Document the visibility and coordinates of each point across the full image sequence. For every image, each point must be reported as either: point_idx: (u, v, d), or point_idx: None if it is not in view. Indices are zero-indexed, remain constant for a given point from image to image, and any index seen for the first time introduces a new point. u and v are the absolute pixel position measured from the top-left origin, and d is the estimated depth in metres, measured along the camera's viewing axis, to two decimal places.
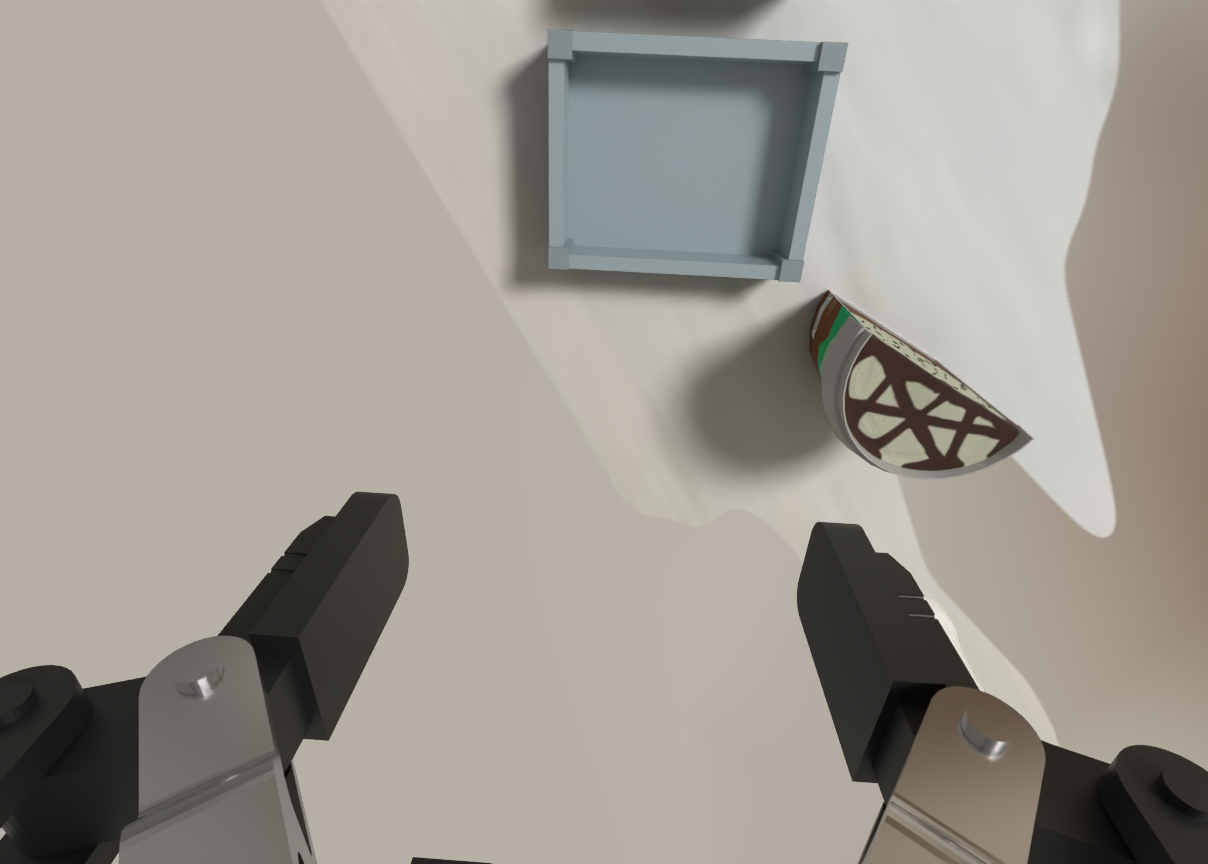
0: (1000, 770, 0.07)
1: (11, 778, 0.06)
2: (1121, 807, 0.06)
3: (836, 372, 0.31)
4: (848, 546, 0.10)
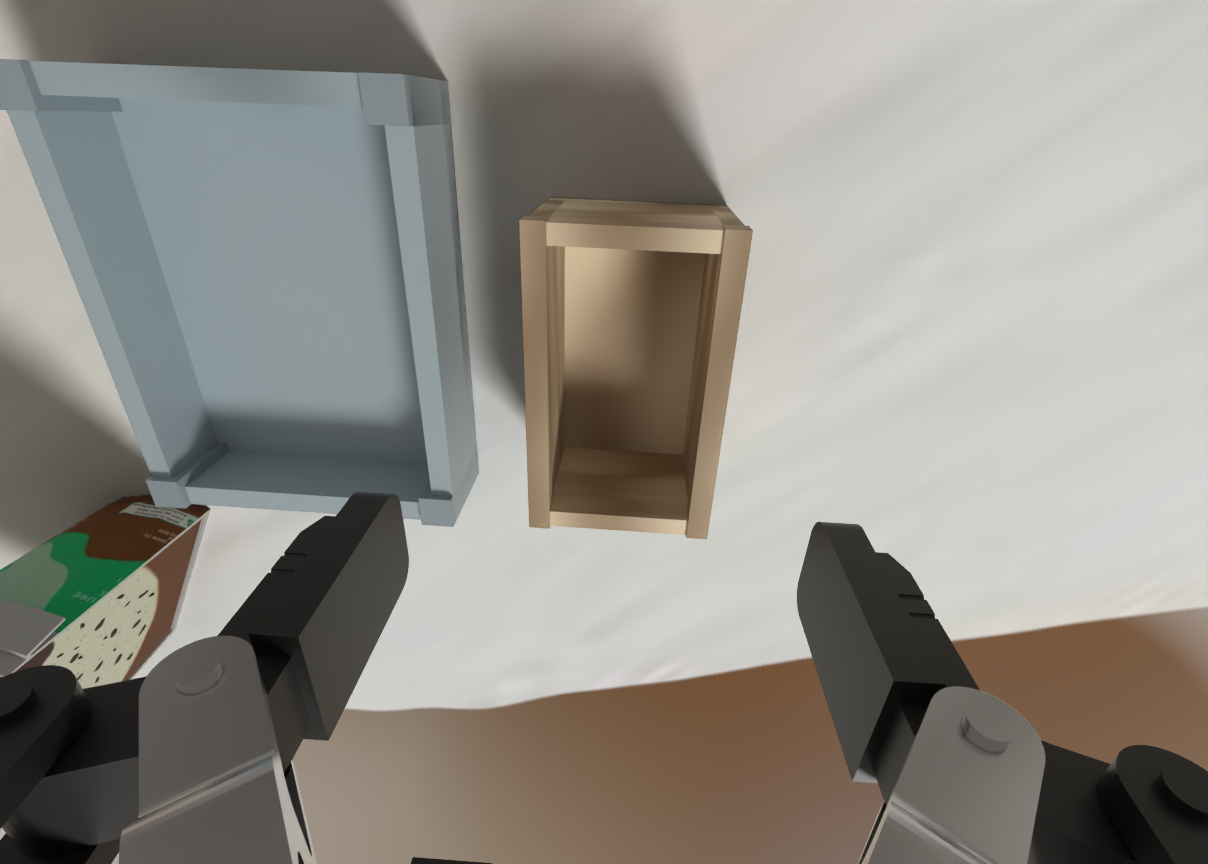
0: (1000, 770, 0.07)
1: (10, 778, 0.06)
2: (1121, 807, 0.06)
3: None
4: (848, 546, 0.10)
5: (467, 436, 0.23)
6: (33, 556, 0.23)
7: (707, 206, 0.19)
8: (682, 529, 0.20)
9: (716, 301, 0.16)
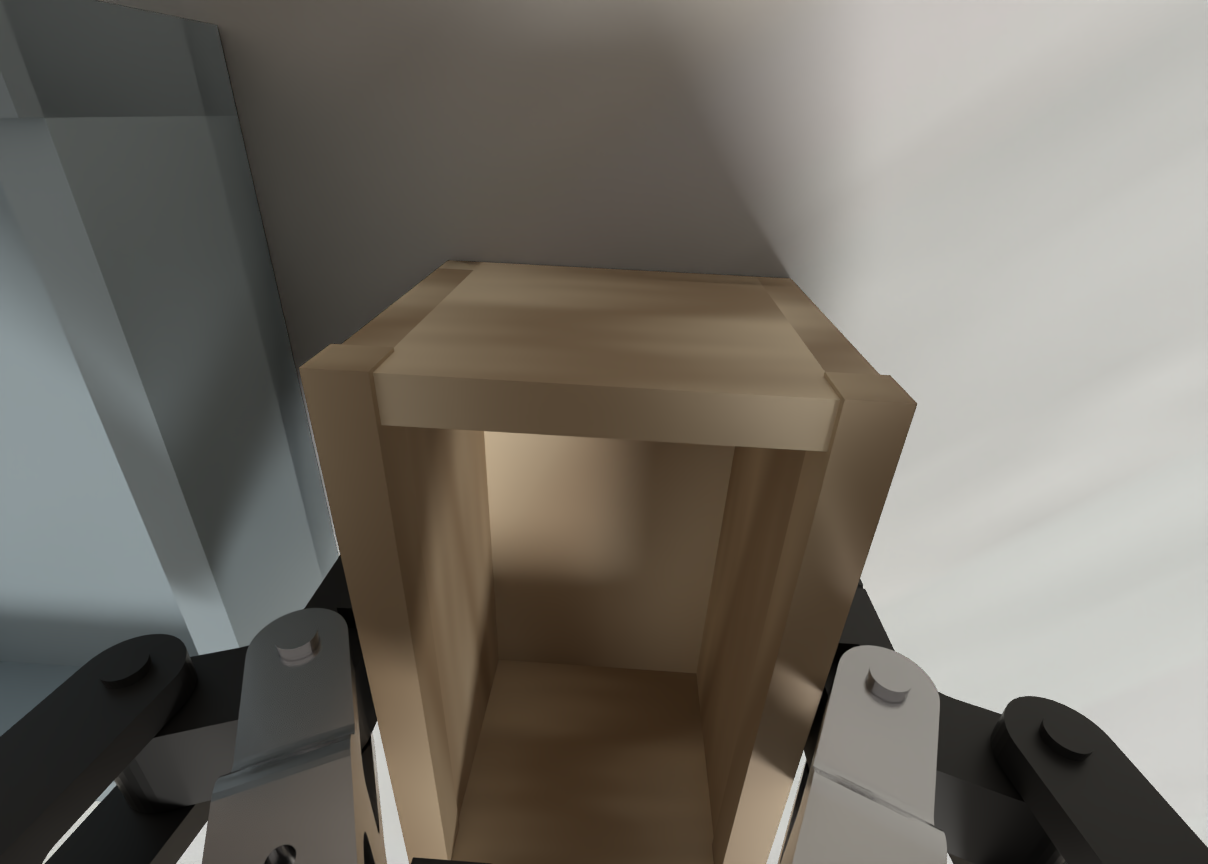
0: (895, 718, 0.07)
1: (120, 741, 0.06)
2: (1012, 760, 0.07)
3: None
4: None
5: None
6: None
7: (754, 282, 0.10)
8: None
9: (804, 548, 0.07)
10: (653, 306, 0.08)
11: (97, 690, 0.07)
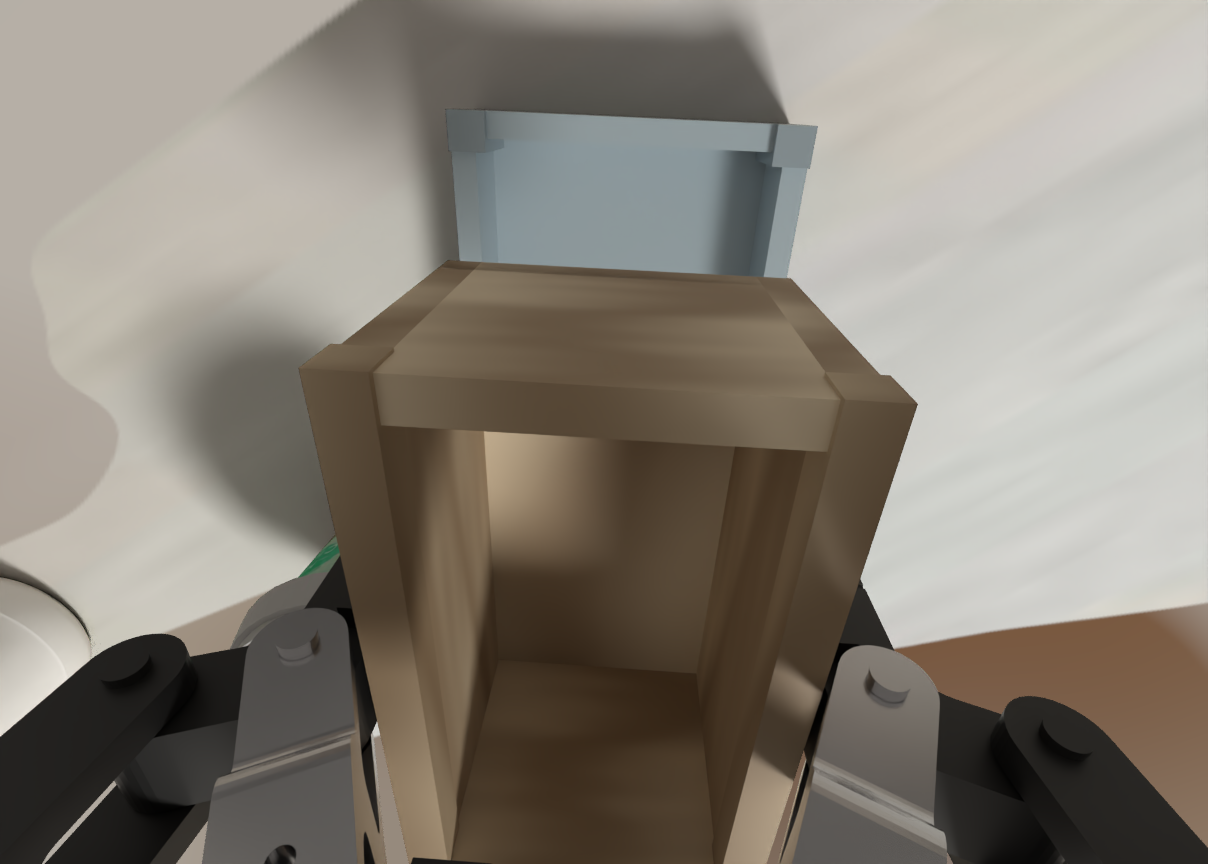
0: (895, 717, 0.07)
1: (121, 741, 0.07)
2: (1012, 760, 0.07)
3: None
4: None
5: None
6: None
7: (754, 282, 0.10)
8: None
9: (804, 548, 0.07)
10: (653, 306, 0.08)
11: (97, 690, 0.07)
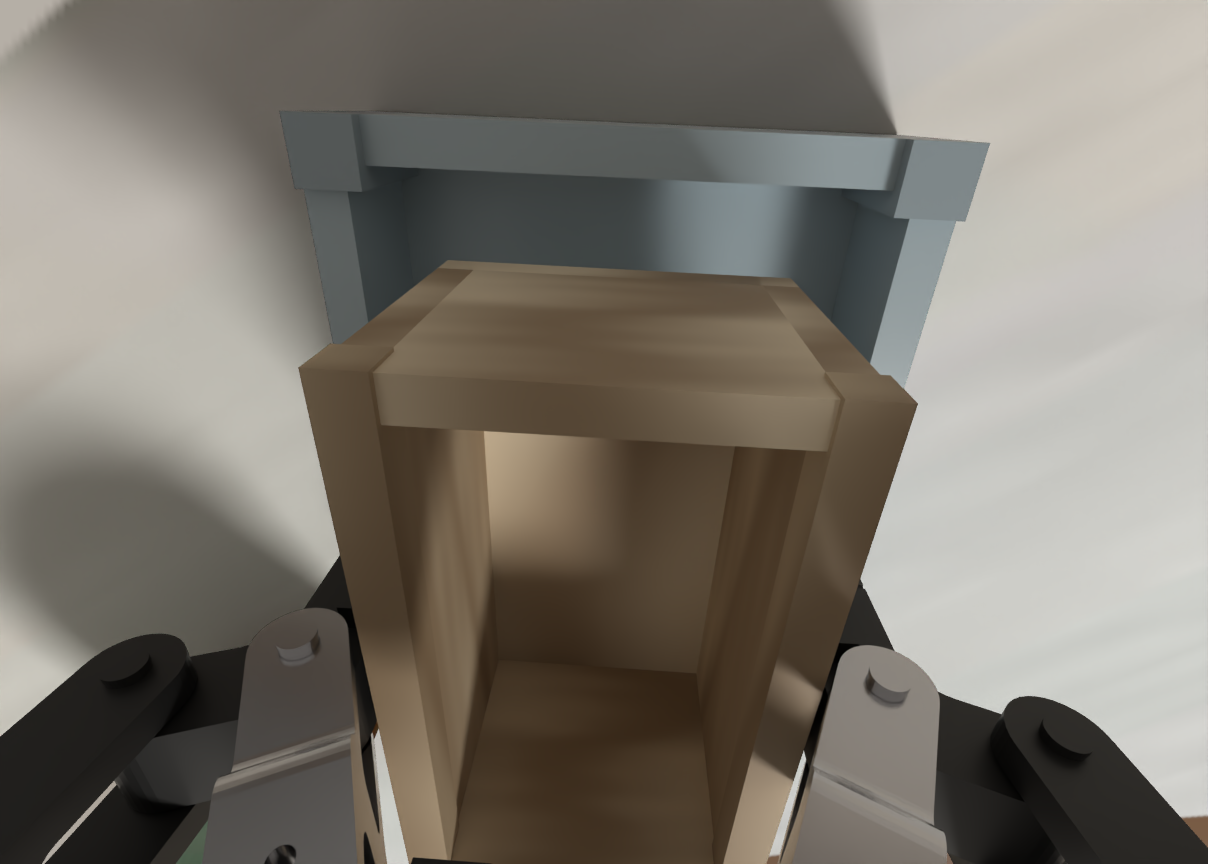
0: (895, 717, 0.07)
1: (120, 741, 0.06)
2: (1012, 760, 0.07)
3: None
4: None
5: None
6: None
7: (754, 282, 0.10)
8: None
9: (803, 548, 0.07)
10: (653, 306, 0.08)
11: (97, 690, 0.07)
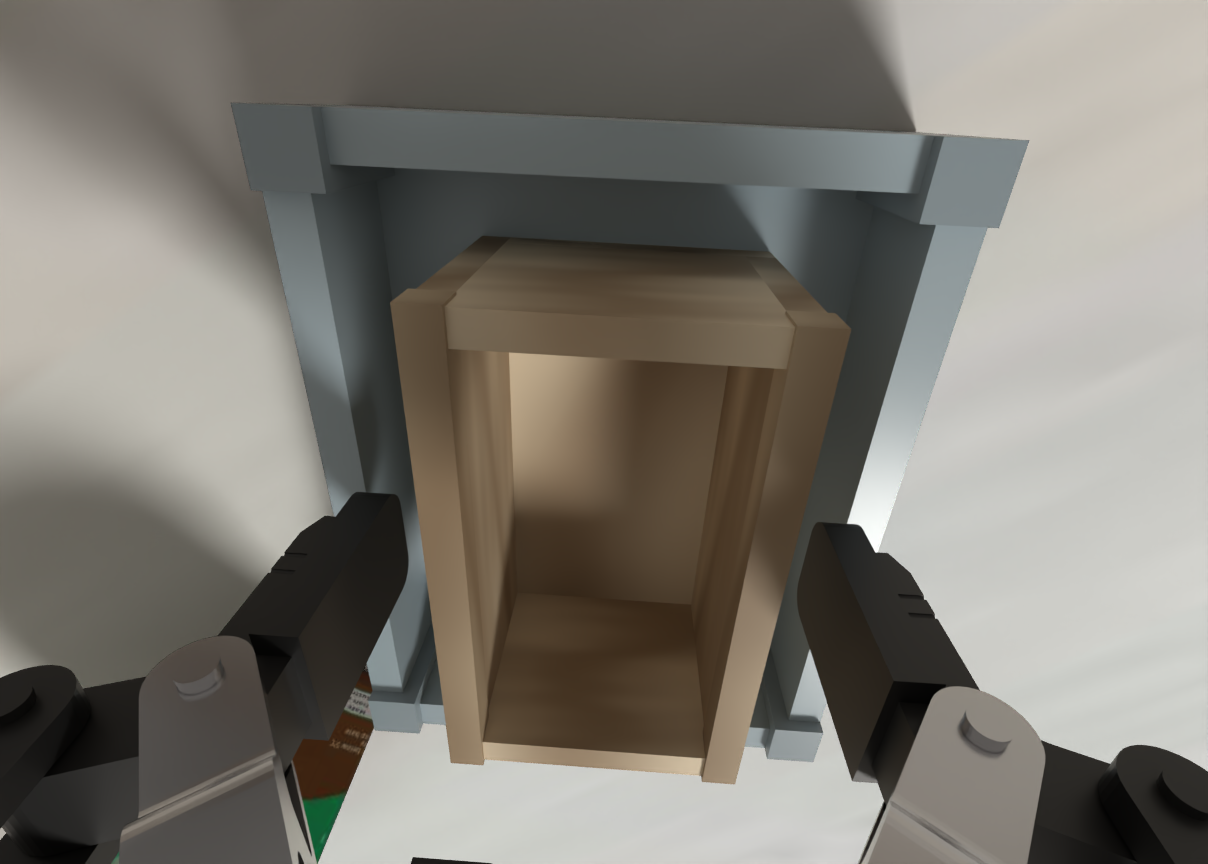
0: (1000, 770, 0.07)
1: (10, 778, 0.06)
2: (1121, 807, 0.06)
3: None
4: (848, 546, 0.10)
5: None
6: None
7: (739, 254, 0.12)
8: (696, 769, 0.13)
9: (770, 449, 0.09)
10: (654, 269, 0.10)
11: None
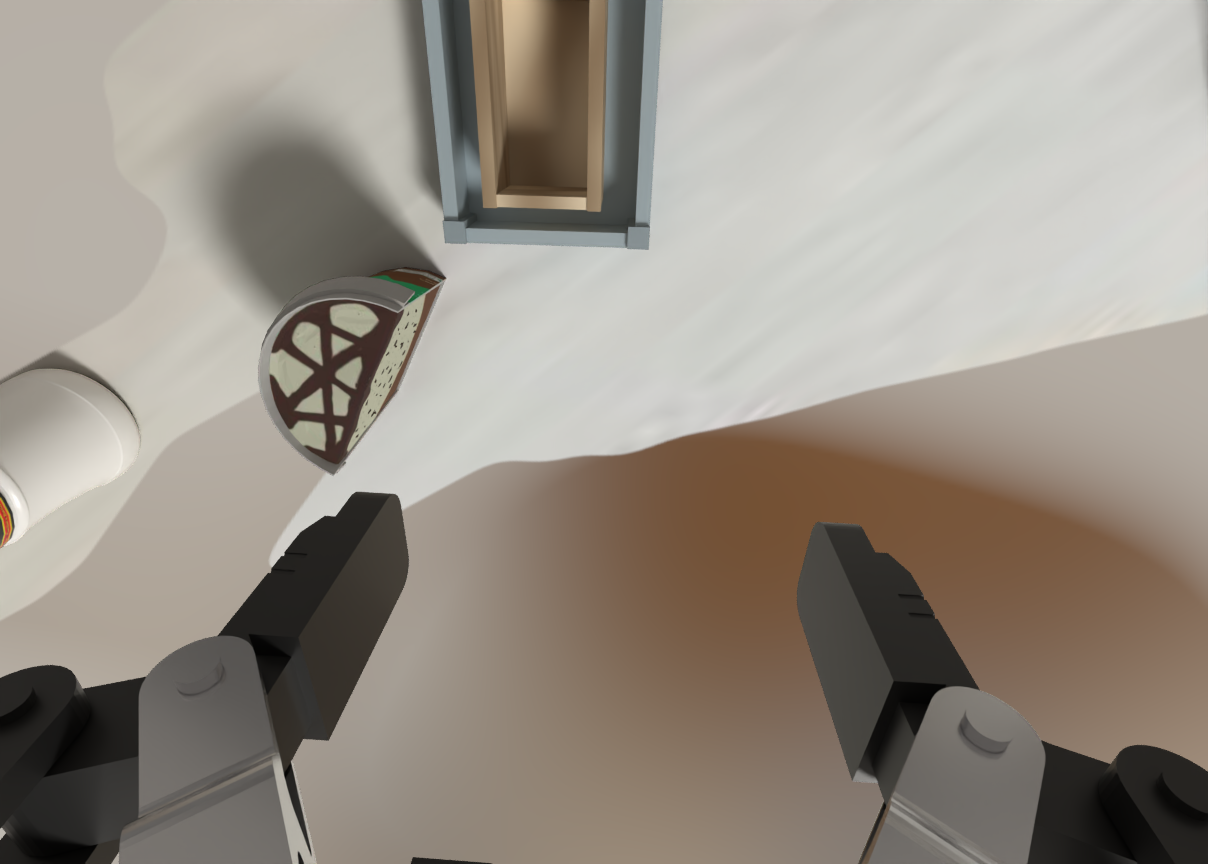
0: (1000, 770, 0.07)
1: (11, 777, 0.06)
2: (1121, 807, 0.06)
3: (353, 288, 0.30)
4: (848, 546, 0.10)
5: None
6: None
7: None
8: (584, 205, 0.30)
9: (589, 20, 0.27)
10: None
11: None
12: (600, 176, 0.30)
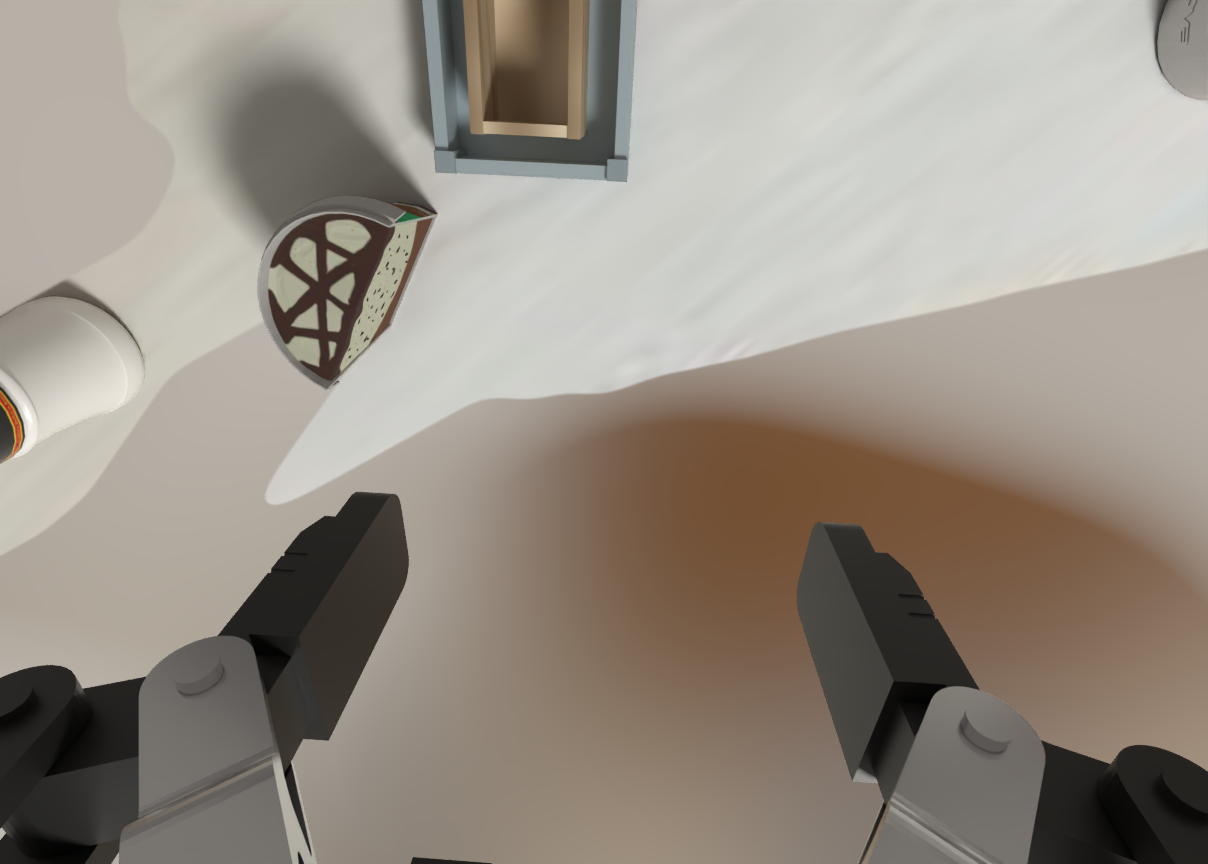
0: (1000, 771, 0.07)
1: (11, 777, 0.06)
2: (1121, 806, 0.06)
3: (347, 204, 0.32)
4: (848, 546, 0.10)
5: (629, 135, 0.37)
6: None
7: None
8: (565, 133, 0.33)
9: None
10: None
11: None
12: (580, 105, 0.32)
